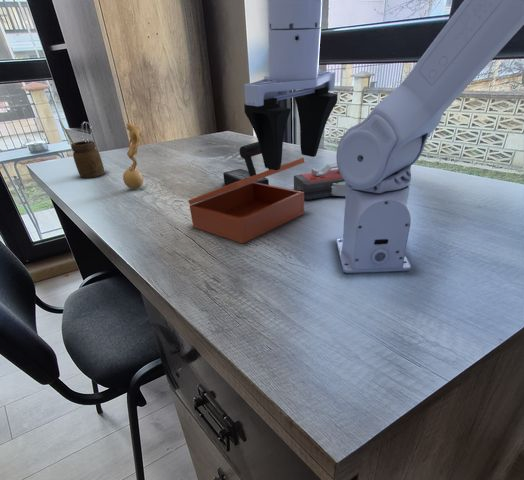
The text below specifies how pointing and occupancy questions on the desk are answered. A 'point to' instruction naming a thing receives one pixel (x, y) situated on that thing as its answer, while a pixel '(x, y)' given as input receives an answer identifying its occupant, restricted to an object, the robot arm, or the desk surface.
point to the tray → (247, 211)
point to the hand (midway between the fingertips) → (291, 161)
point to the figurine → (133, 158)
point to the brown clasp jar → (86, 157)
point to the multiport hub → (240, 177)
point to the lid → (246, 154)
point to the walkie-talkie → (321, 183)
